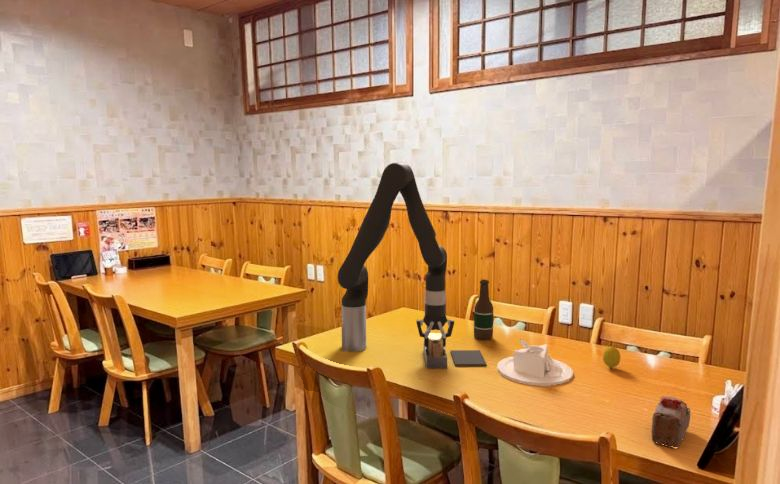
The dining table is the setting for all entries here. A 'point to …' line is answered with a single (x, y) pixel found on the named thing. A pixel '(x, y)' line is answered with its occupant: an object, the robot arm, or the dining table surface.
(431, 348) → the cream block
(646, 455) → the dining table surface
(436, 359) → the hand plane
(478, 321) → the beer bottle
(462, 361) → the rubber mat
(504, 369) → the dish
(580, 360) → the dining table surface
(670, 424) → the food item
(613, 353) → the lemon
